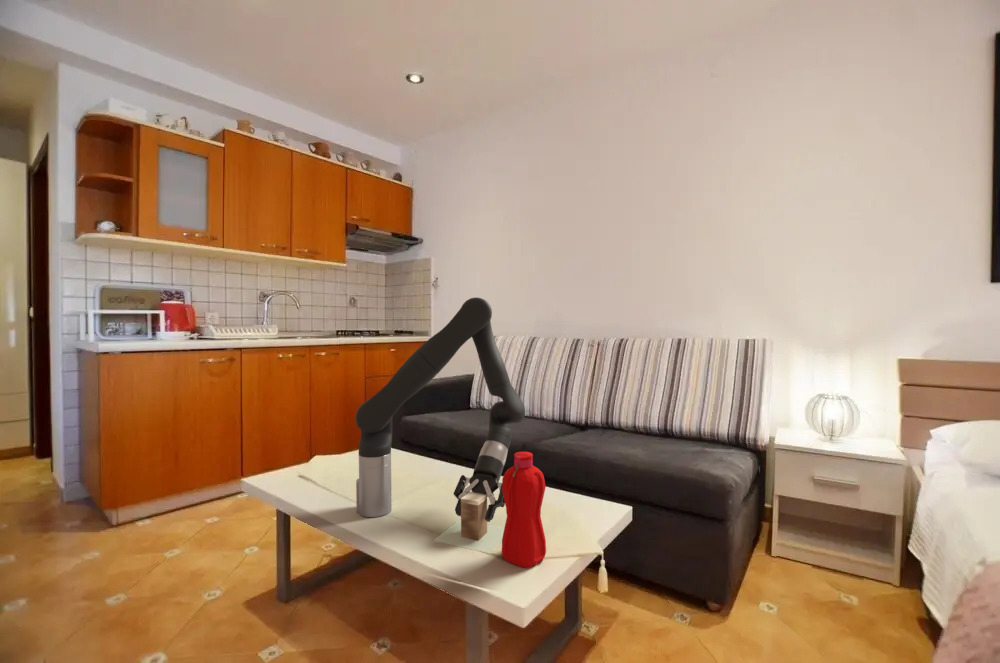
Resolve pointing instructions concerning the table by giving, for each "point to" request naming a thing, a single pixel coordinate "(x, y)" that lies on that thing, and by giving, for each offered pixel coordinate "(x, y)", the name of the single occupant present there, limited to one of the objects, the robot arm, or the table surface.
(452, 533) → the sage mat
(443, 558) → the table surface
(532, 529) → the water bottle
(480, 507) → the walnut block
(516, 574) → the table surface
